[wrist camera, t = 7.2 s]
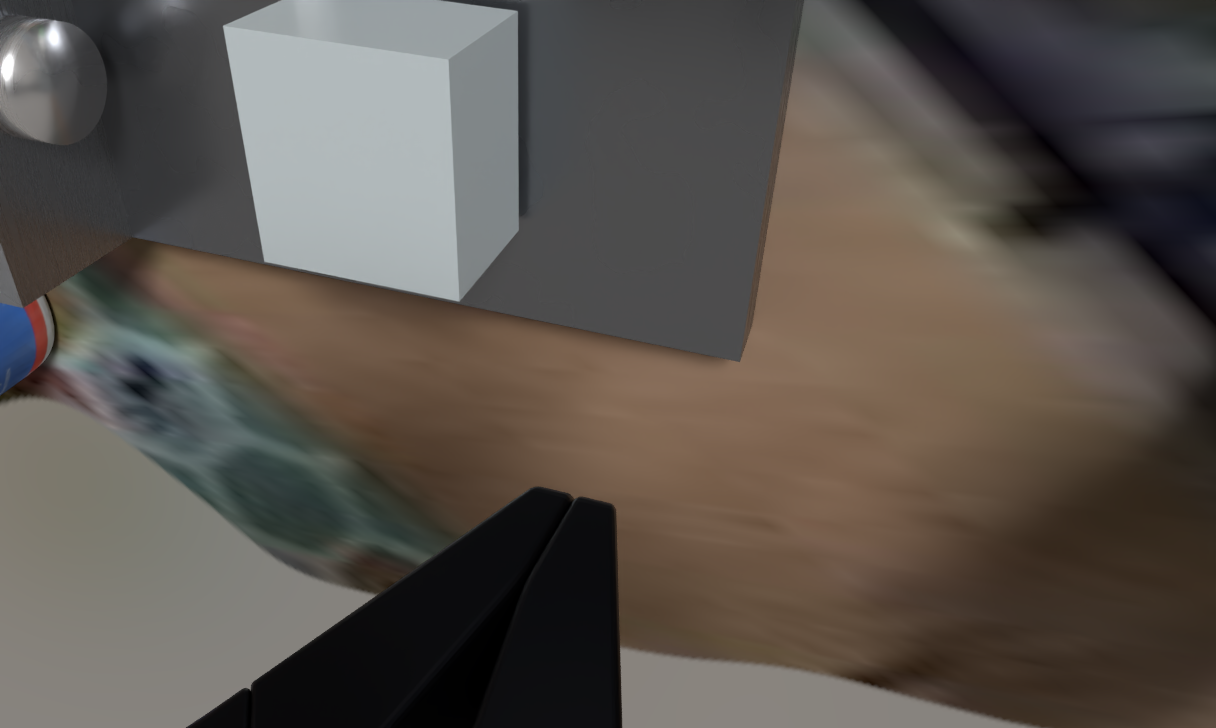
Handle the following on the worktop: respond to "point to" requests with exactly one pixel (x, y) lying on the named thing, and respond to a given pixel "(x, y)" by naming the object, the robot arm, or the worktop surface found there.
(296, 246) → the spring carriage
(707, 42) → the gauge base
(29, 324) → the pill bottle
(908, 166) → the worktop surface
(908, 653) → the worktop surface
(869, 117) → the worktop surface
